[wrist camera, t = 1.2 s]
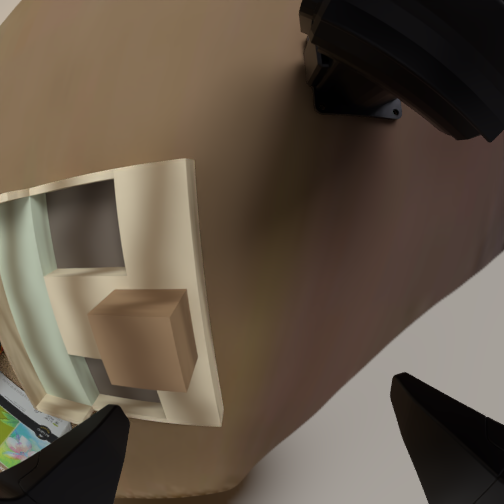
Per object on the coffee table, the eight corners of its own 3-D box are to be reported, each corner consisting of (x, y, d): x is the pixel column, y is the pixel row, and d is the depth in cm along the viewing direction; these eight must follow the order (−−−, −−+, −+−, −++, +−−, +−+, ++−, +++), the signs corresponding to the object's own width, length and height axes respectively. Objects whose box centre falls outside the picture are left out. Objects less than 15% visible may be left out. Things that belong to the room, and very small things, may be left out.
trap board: (194, 159, 18) (172, 156, 14) (223, 408, 24) (218, 448, 19) (1, 198, 19) (-34, 207, 15) (54, 384, 25) (35, 409, 20)
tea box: (71, 418, 27) (25, 495, 13) (77, 450, 30) (43, 515, 15) (-4, 366, 26) (-57, 420, 12) (8, 404, 29) (-33, 455, 14)
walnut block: (186, 288, 18) (169, 317, 15) (198, 356, 20) (186, 392, 16) (114, 289, 19) (87, 314, 15) (131, 353, 20) (111, 384, 16)
